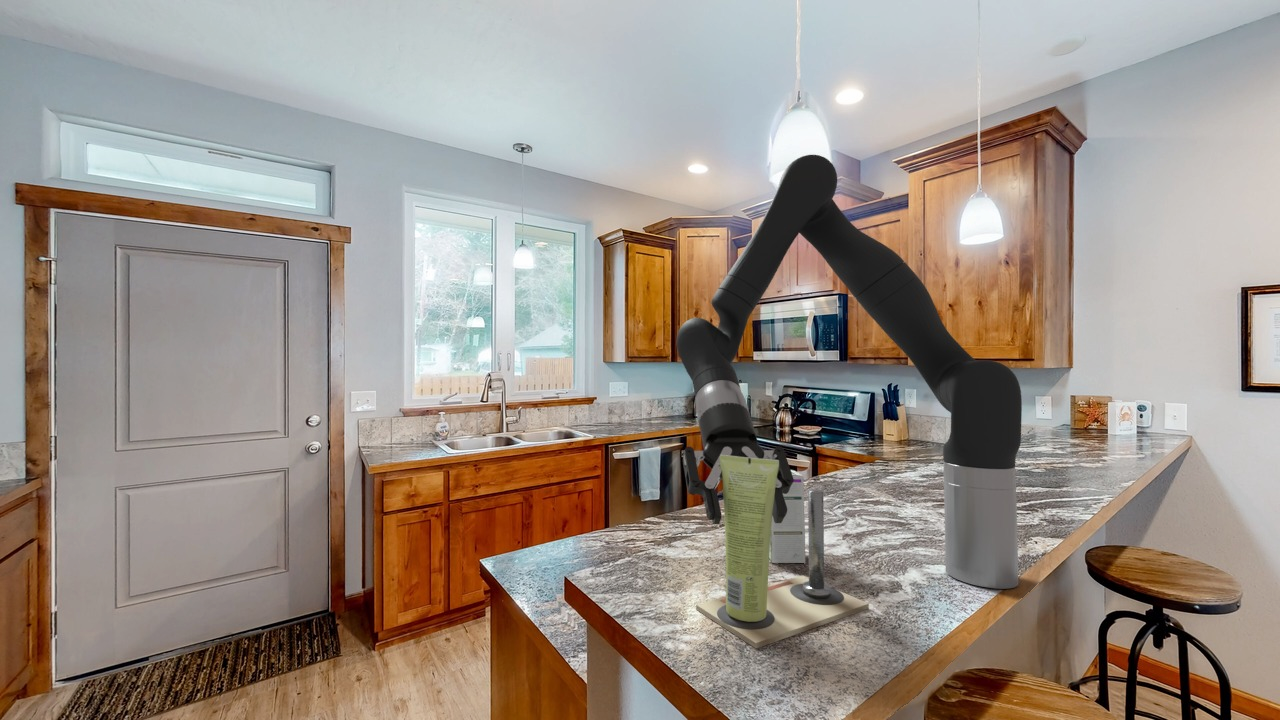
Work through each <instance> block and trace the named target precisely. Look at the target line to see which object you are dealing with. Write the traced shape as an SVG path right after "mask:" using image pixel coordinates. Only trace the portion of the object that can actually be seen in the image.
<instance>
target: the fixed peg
mask: <svg viewBox="0 0 1280 720" xmlns="http://www.w3.org/2000/svg"><path fill="white" fill-rule="evenodd" d="M807 493H808V495H807V496H808V497H807V500H808V501H807V502H808V505H807V506H808V508H807V509H808V510H807V511H808V513H807V514H808V519H807V520H808V524H807V526H808V578H809V581H807V582H804V583H803V593H804V594H805V595H806V596H808V597H810V598H814V599H828V598H830V596H831V588H832V587H831V586H830V585H829V584H827V583H825V529H824V528H825V522H824V521H825V520H824V519H825V515H824V512H825V511H824V509H825V508H824V505H825V504H824V502H825V501H824V491H823V490H821V489H816V488H815V489H812V488H811V489H808V491H807ZM830 587H831V588H830Z"/></svg>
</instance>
